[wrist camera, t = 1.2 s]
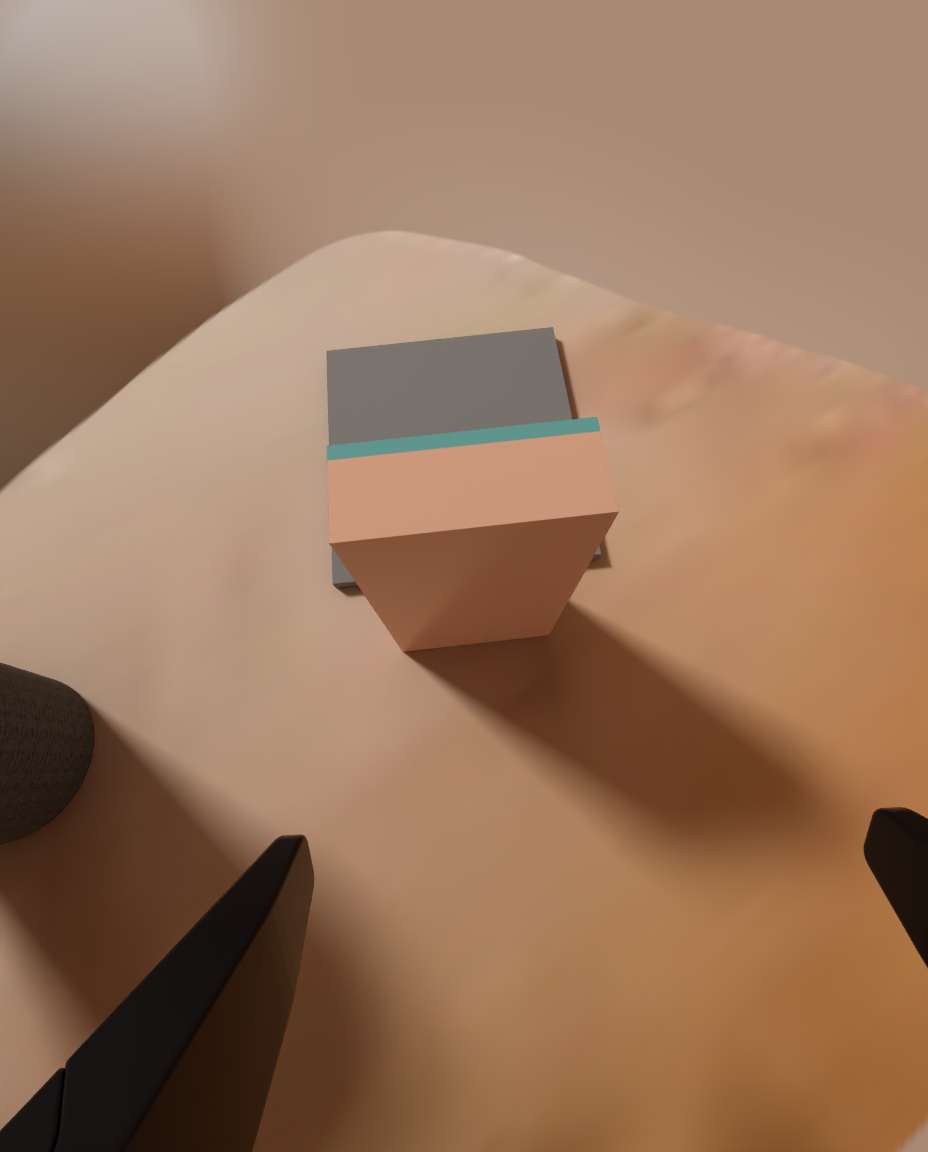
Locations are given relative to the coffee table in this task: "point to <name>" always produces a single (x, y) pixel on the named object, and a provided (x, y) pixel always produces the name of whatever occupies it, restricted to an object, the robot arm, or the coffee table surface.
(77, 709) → the coffee cup
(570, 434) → the tile
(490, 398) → the mat
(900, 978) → the coffee table surface
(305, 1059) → the coffee table surface
